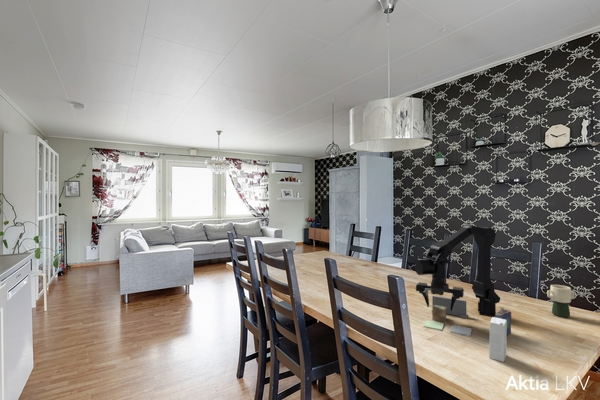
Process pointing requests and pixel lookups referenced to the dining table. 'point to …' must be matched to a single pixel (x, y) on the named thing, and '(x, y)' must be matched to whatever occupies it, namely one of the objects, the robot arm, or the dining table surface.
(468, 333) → the slate pad
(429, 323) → the green pad
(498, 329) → the skincare box
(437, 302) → the screen
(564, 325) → the dining table surface
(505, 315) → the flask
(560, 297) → the character mug
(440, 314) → the letter cube
